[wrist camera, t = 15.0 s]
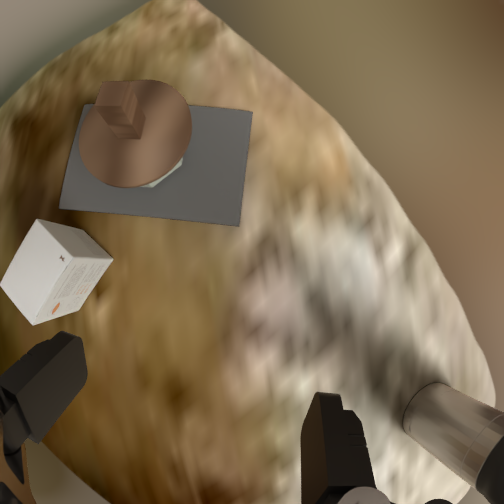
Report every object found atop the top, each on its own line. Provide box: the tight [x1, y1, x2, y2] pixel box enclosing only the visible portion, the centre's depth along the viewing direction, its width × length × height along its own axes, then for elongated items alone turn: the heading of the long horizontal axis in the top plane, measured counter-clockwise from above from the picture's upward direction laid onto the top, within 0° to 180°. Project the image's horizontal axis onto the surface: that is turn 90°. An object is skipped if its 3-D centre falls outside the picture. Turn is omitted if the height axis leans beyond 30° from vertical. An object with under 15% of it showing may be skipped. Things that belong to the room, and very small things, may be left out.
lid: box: [79, 80, 192, 188], centre depth 24 cm, size 12×12×8 cm
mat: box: [59, 104, 253, 227], centre depth 33 cm, size 22×14×1 cm, turn 84°
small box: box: [0, 219, 113, 325], centre depth 27 cm, size 8×6×10 cm
